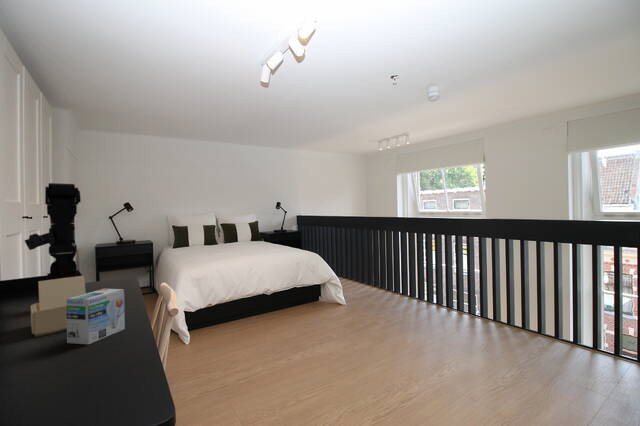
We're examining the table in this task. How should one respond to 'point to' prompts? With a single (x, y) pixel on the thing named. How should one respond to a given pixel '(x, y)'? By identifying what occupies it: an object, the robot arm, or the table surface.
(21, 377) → the table surface
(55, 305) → the far flap
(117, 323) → the light bulb box
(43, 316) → the carton
